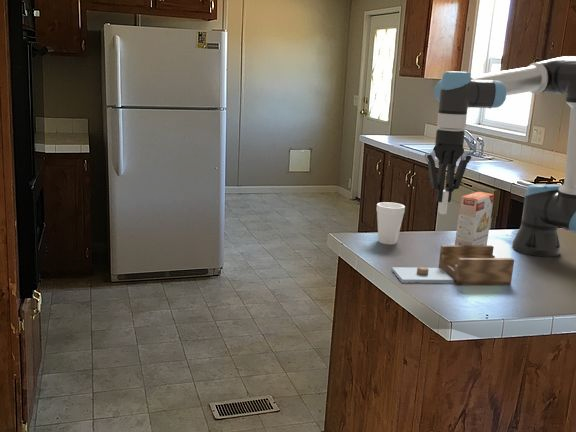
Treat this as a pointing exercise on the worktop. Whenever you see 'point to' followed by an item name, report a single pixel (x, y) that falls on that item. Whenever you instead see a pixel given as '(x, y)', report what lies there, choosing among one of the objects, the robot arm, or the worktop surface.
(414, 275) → the lid
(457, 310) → the worktop surface
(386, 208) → the foam cup
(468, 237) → the cracker box
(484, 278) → the box
